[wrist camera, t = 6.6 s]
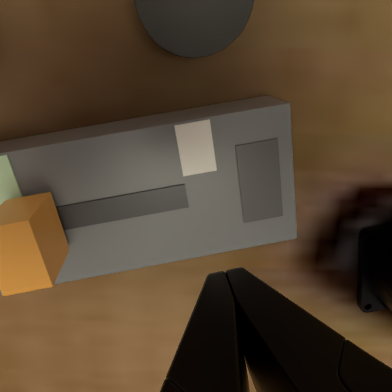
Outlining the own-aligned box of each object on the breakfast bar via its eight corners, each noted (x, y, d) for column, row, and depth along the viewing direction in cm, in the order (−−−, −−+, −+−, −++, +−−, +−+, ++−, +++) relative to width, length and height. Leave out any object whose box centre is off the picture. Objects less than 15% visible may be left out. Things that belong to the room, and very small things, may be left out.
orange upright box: (69, 249, 17) (52, 286, 14) (27, 256, 17) (3, 295, 14) (50, 191, 16) (28, 220, 13) (5, 200, 16) (-27, 230, 13)
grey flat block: (276, 211, 22) (297, 239, 19) (-19, 265, 21) (-51, 304, 18) (267, 94, 19) (290, 103, 16) (-70, 153, 19) (-119, 174, 15)
